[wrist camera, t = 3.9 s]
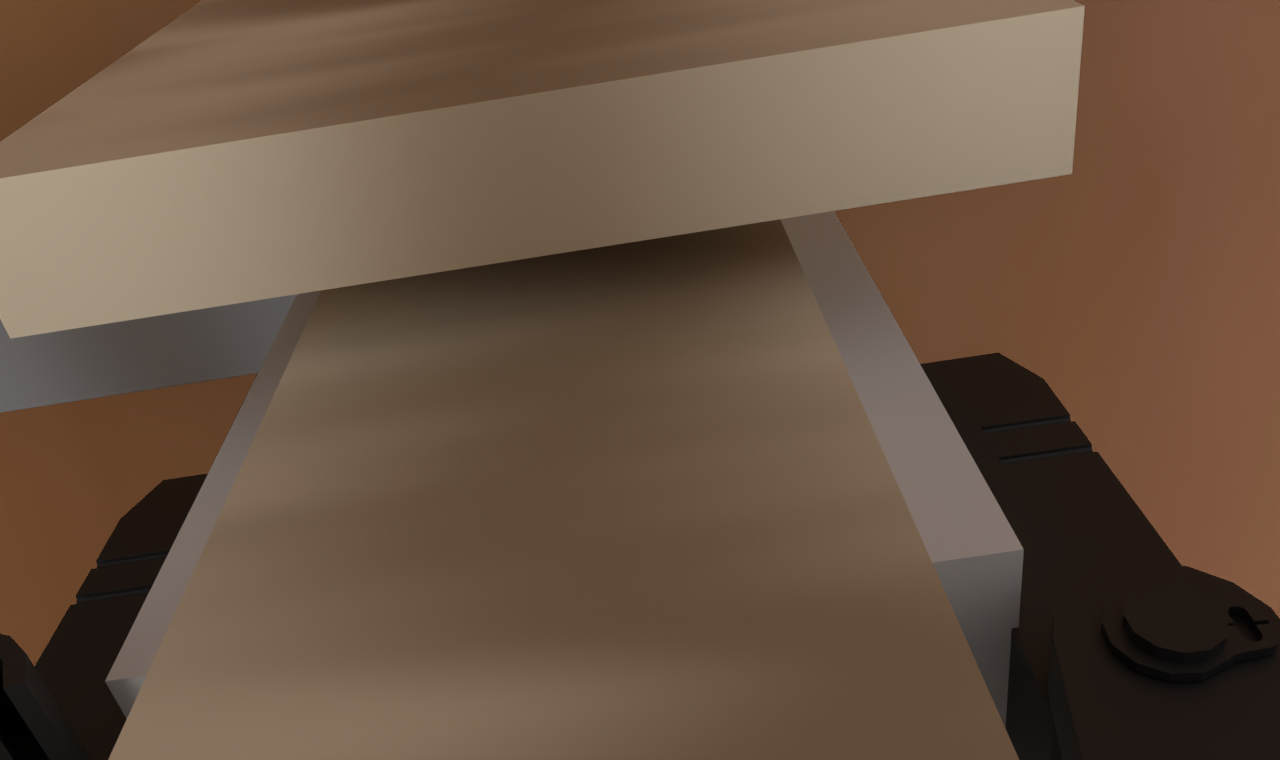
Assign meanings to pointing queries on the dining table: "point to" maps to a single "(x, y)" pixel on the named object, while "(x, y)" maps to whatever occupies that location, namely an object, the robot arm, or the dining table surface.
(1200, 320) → the dining table surface
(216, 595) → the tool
